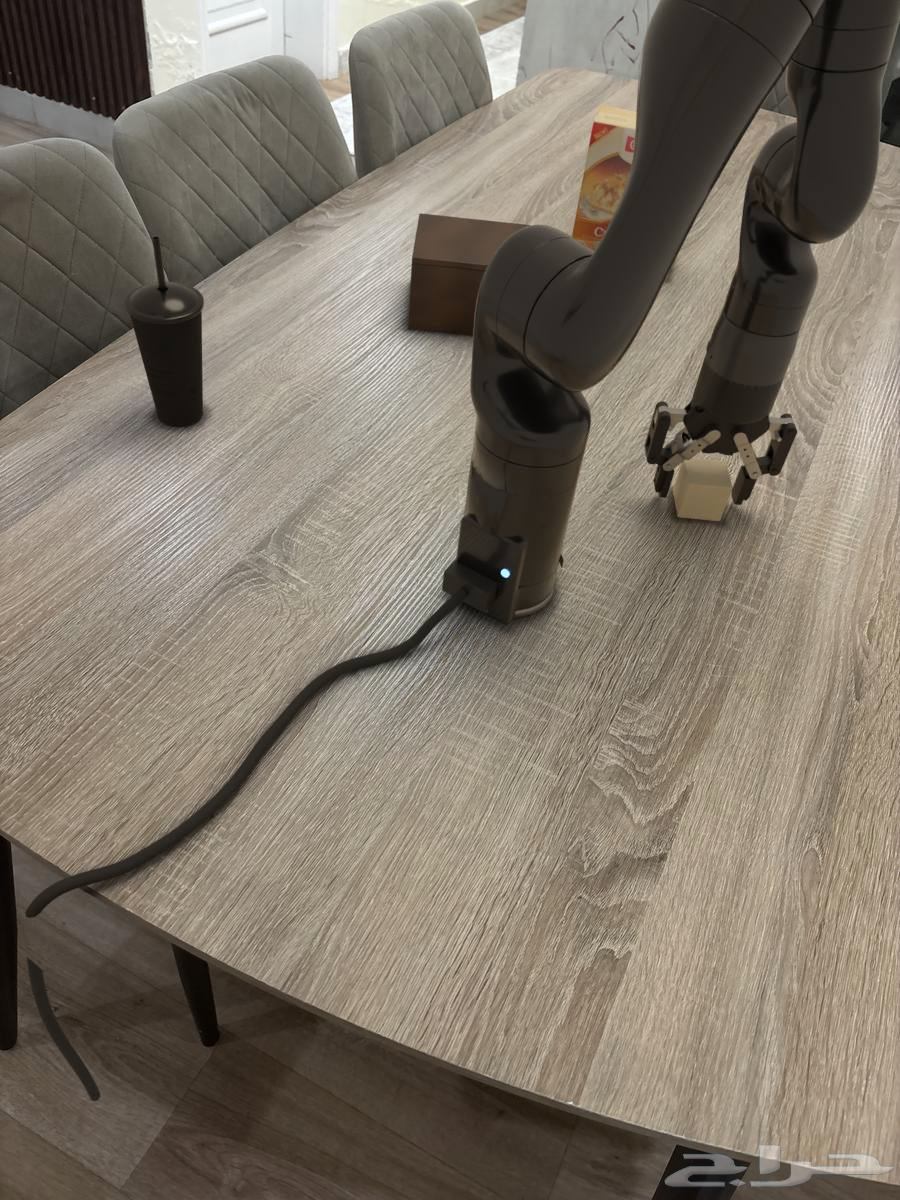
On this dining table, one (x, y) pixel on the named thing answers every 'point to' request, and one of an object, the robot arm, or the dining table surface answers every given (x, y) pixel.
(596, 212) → the coffeecake box
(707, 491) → the block
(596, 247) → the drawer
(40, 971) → the robot arm
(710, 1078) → the dining table surface
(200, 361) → the drinking cup
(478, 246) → the brown wooden box
